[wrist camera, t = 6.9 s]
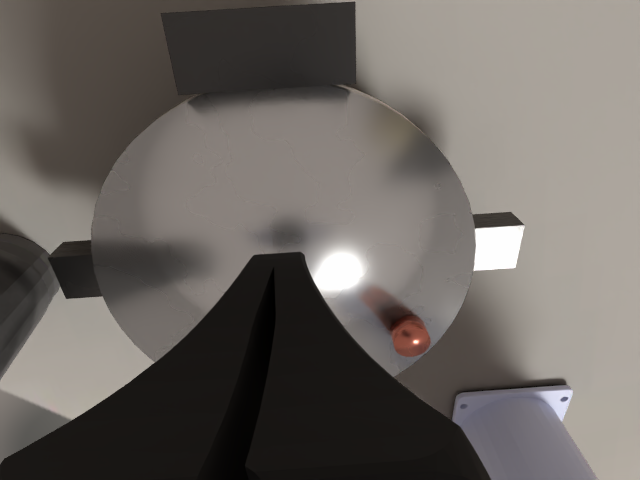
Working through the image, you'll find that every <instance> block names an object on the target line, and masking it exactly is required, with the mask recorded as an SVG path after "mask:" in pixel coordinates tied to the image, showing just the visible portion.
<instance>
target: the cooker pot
mask: <svg viewBox="0 0 640 480" xmlns="http://www.w3.org/2000/svg"><path fill="white" fill-rule="evenodd" d="M344 86H347V85H345V84H344ZM347 87H349V86H347ZM472 216H473V221H474V225H475V240H476V251H475V263H474V270H473V271H476V270H490V269H505V268H515V267H516V262H517V258H518V253H519V249H520V244H521V240H522V235H523V231H524V226H525V225H524V224H523V223H522V222H521V221H520V220H519V219H518V218H517V217H516V216H515V215H513V214H512V213H511V212H504V213H489V214H474V215H472ZM48 260H49V262H50V264H51V266H52V269H53V271H54V273H55V275H56V277H57V280H58V282H59V284H60V286H61V288H62V291H63V293H64V295H65V297H66V299H70V298H85V297H99V296H102V294H101V291H100V288H99V285H98V282H97V278H96V275H95V272H94V265H93V259H92V252H91V240H87V241H72V242H63V243H62V244H61V245H60V246H59V247H58V248H57V249H56V250H55V251H54V252H53V253H52V254H51V255H50V256H49V257H48Z"/></svg>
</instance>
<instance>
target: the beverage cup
mask: <svg viewBox="0 0 640 480" xmlns="http://www.w3.org/2000/svg"><path fill="white" fill-rule="evenodd" d="M49 256H50V255H49V254H48V253H47V252H46V251H45V250H44V249H42V248H41V247H39V246H38V245H37V244H35V243H34V242H32V241H29V240H27V239H25V238H22V237H20V236H16V235H10V234H4V233H2V234H0V380H1V378H2V377H3V375H4V374H5V372H6V371H7V369H8V368H9V366H10V365H11V363H12V362H13V360H14V359H15V357H16V356H17V354H18V353H19V351H20V350H21V348H22V347H23V345H24V344H25V342H26V341H27V339H28V338H29V336H30V335H31V333H32V332H33V330H34V329H35V327H36V326H37V324H38V323H39V321H40V320H41V318H42V317H43V315H44V314H45V312H46V310H47V307H48V305H49V304H50V302H51V300H52V298H53V296H54V295H55V294H56V293H57V292H58V289H59V287H60V284H59V282H58V280H57V277H56V275H55V273H54V271H53V269H52V266H51V264H50V262H49V260H48V257H49Z"/></svg>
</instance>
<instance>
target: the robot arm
mask: <svg viewBox="0 0 640 480" xmlns="http://www.w3.org/2000/svg"><path fill="white" fill-rule="evenodd" d="M572 394H573V390H572V389H571V388H570V386H568V385H559V386H546V387H532V388H518V389H504V390H491V391H477V392H463V393H460V394H458V395H457V396H456V399H455V405H454V410H453V416H452V420H450V419H449V418H447V417H446V416H444V415H443V414H441V413H440V412H438V411H437V410H435V409H434V408H432V407H431V406H429V405H428V404H426V403H425V402H423V401H422V400H421V399H419V398H418V397H417V396H416V395H414V394H413V393H412V392H411V391H409V390H408V389H407V388H406V387H404V386H403V385H402V384H400V383H399V382H398V381H397V380H396V379H395V378H394V377H392V376H391V375H390V374H389V373H388V372H387V371H386V370H385V369H384V368H383V367H381V366H380V365H379V364H378V363H377V362H376V361H375V360H374V359H373V358H372V357H371V356H370V355H369V354H368V353H367V352H366V351H365V350H364V349H363V348H362V347H361V346H360V345H359V344H358V343H357V342H356V341H355V339H354V338H353V337H352V336H351V335H350V334H349V332H348V331H347V330H346V329H345V328H344V326H343V325H342V324H341V323H340V321H339V320H338V319H337V317H336V316H335V314H334V313H333V312H332V310H331V309H330V307H329V306H328V304H327V303H326V301H325V300H324V298H323V296H322V295H321V293H320V291H319V289H318V288H317V286H316V284H315V282H314V280H313V278H312V276H311V274H310V272H309V269H308V267H307V264H306V260H305V255H304V254H303V253H302V252H287V253H273V254H258V255H253V256H252V257H251V259H250V260H249V261H248V263H247V264H246V265H245V267H244V268H243V270H242V271H241V272H240V274H239V275H238V277H237V278H236V279H235V281H234V282H233V283H232V284H231V286H230V287H229V288H228V289H227V291H226V292H225V293H224V294H223V296H222V297H221V298H220V299H219V301H218V302H217V303H216V304H215V305H214V307H213V308H212V309H211V310H210V311H209V312H208V313H207V314H206V315H205V316H204V318H203V319H202V320H201V321H200V322H199V323H198V324H197V325H196V326H195V327H194V328H193V329H192V330H191V331H190V332H189V333H188V334H187V335H186V336H185V337H184V338H183V339H182V340H181V341H180V342H179V343H178V344H176V345H175V346H174V347H173V348H172V349H171V350H170V351H169V352H167V353H166V354H165V355H164V356H163V357H161V358H160V359H159V360H158V361H156V362H155V363H154V364H152V365H151V366H150V367H149V368H147V369H146V370H145V371H143V372H142V373H141V374H140V375H138V376H137V377H136V378H134V379H133V380H132V381H131V382H129V383H128V384H126V385H125V386H124V387H122V388H121V389H119V390H118V391H116V392H115V393H113V394H112V395H111V396H109V397H108V398H106V399H105V400H103V401H102V402H100V403H99V404H97V405H96V406H94V407H92V408H91V409H89V410H88V411H86V412H85V413H83V414H82V415H80V416H78V417H77V418H75V419H73V420H72V421H70V422H69V423H67V424H65V425H63V426H62V427H60V428H58V429H56V430H55V431H53V432H51V433H49V434H48V435H46V436H44V437H43V438H41V439H39V440H37V441H35V442H34V443H32V444H30V445H29V446H27V447H25V448H23V449H22V450H20V451H18V452H16V453H14V454H12V455H11V456H9V457H7V458H5V459H4V460H3V461H2V463H1V464H0V480H598V478H597V477H596V475H595V474H594V472H593V470H592V469H591V467H590V466H589V464H588V463H587V461H586V459H585V458H584V456H583V455H582V453H581V452H580V450H579V448H578V447H577V445H576V444H575V442H574V441H573V439H572V437H571V436H570V434H569V433H568V431H567V430H566V428H565V426H564V425H563V423H562V421H563V418H564V416H565V413H566V410H567V408H568V405H569V402H570V400H571V397H572Z"/></svg>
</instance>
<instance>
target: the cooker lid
mask: <svg viewBox="0 0 640 480" xmlns="http://www.w3.org/2000/svg"><path fill="white" fill-rule="evenodd" d="M161 17H162V21H163V26H164V31H165V35H166V40H167V45H168V49H169V54H170V58H171V63H172V68H173V72H174V77H175V82H176V86H177V91H178V95H184V94H198V95H195V96H193V97H191V98H189V99H186V100H185V101H183V102H182V103H180V104H179V105H177V106H176V107H174V108H172V109H171V110H169V111H168V112H166V113H165V114H163V115H162V116H161V117H159V118H158V119H157V120H155V121H154V122H153V123H152V124H151V125H149V126H148V127H147V128H146V129H145V130H144V131H143V132H142V133H140V134H139V135H138V136H137V137H136V138H135V139H134V140H133V141H132V142H131V143H130V144H129V146H128V147H127V148H126V149H125V151H124V152H123V153H122V154H121V155H120V157H119V158H118V159H117V160H116V162H115V164H114V166H113V167H112V169H111V171H110V173H109V174H108V176H107V178H106V180H105V181H104V184H103V186H102V189H101V192H100V195H99V197H98V200H97V203H96V206H95V211H94V217H93V223H92V228H91V252H92V259H93V265H94V272H95V275H96V278H97V282H98V285H99V288H100V291H101V294H102V296H103V298H104V300H105V302H106V304H107V306H108V308H109V310H110V312H111V314H112V315H113V317H114V318H115V320H116V321H117V323H118V324H119V326H120V327H121V329H122V330H123V331H124V332H125V334H126V335H127V336H128V337H129V338H130V339H131V340H132V342H133V343H134V344H135V345H136V346H137V347H138V348H139V349H140V350H141V351H143V352H144V353H145V354H146V355H147V356H148V357H149V358H150V359H152V360H153V361H154V362H156V361H158V360H159V359H160V358H161V357H163V356H164V355H165V354H166V353H167V352H169V351H170V350H171V349H172V348H173V347H174V346H175V345H176V344H178V343H179V342H180V341H181V340H182V339H183V338H184V337H185V336H186V335H187V334H188V333H189V332H190V331H191V330H192V329H193V328H194V327H195V326H196V325H197V324H198V323H199V322H200V321H201V320H202V319H203V318H204V316H205V315H206V314H207V313H208V312H209V311H210V310H211V309H212V308H213V307H214V305H215V304H216V303H217V302H218V301H219V299H220V298H221V297H222V296H223V294H224V293H225V292H226V291H227V289H228V288H229V287H230V286H231V284H232V283H233V282H234V281H235V279H236V278H237V277H238V275H239V274H240V272H241V271H242V270H243V268H244V267H245V265H246V264H247V263H248V261H249V260H250V259H251V257H252V256H253V255H258V254H273V253H287V252H302V253H303V254H304V255H305V260H306V264H307V267H308V269H309V272H310V274H311V276H312V278H313V280H314V282H315V284H316V286H317V288H318V289H319V291H320V293H321V295H322V296H323V298H324V300H325V301H326V303H327V304H328V306H329V307H330V309H331V310H332V312H333V313H334V314H335V316H336V317H337V319H338V320H339V321H340V323H341V324H342V325H343V326H344V328H345V329H346V330H347V331H348V332H349V334H350V335H351V336H352V337H353V338H354V339H355V341H356V342H357V343H358V344H359V345H360V346H361V347H362V348H363V349H364V350H365V351H366V352H367V353H368V354H369V355H370V356H371V357H372V358H373V359H374V360H375V361H376V362H377V363H378V364H379V365H380V366H381V367H383V368H384V369H385V370H386V371H387V372H388V373H389V374H390V375H391V376H392V377H394V376H396V375H398V374H399V373H401V372H402V371H404V370H405V369H407V368H408V367H410V366H411V365H413V364H414V363H415V362H416V361H417V360H418V359H420V358H421V357H422V356H423V355H424V354H426V353H427V352H428V351H429V350H430V349H431V348H432V347H433V346H434V345H435V344H436V342H437V341H438V340H439V339H440V338H441V337H442V336H443V334H444V333H445V332H446V330H447V329H448V328H449V326H450V325H451V324H452V322H453V320H454V319H455V317H456V315H457V313H458V312H459V310H460V308H461V306H462V304H463V302H464V299H465V297H466V294H467V292H468V289H469V286H470V282H471V278H472V274H473V270H474V263H475V251H476V240H475V225H474V221H473V216H472V212H471V208H470V203H469V201H468V198H467V196H466V193H465V191H464V188H463V186H462V184H461V181H460V179H459V178H458V176H457V175H456V173H455V171H454V170H453V168H452V166H451V165H450V163H449V161H448V160H447V159H446V157H445V156H444V155H443V154H442V153H441V152H440V150H439V149H438V148H437V147H436V146H435V144H434V143H433V142H432V141H431V140H430V139H429V138H428V137H427V136H426V135H425V134H424V133H423V132H422V131H421V130H420V129H419V128H417V127H416V126H415V125H414V124H413V123H412V122H411V121H409V120H408V119H407V118H406V117H405V116H404V115H402V114H401V113H399V112H398V111H396V110H395V109H393V108H391V107H390V106H388V105H387V104H385V103H384V102H382V101H381V100H378V99H376V98H374V97H372V96H370V95H367V94H365V93H363V92H361V91H359V90H356V89H354V88H351V87H347V86H344V84H356V31H355V2H341V3H325V4H308V5H291V6H275V7H258V8H241V9H225V10H208V11H191V12H175V13H161Z"/></svg>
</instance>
